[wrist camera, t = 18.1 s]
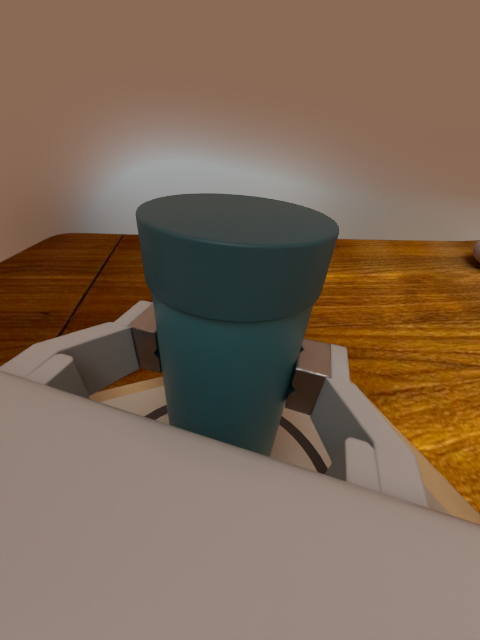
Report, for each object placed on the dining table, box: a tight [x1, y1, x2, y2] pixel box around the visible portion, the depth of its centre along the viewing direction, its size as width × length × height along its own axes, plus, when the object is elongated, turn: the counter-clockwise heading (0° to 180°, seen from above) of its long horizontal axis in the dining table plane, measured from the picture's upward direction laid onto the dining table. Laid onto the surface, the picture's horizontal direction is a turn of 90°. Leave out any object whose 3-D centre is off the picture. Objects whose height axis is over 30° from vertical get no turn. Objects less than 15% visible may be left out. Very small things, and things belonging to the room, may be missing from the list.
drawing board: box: [89, 376, 480, 524], centre depth 11 cm, size 22×16×2 cm
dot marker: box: [136, 194, 339, 457], centre depth 9 cm, size 5×5×11 cm
